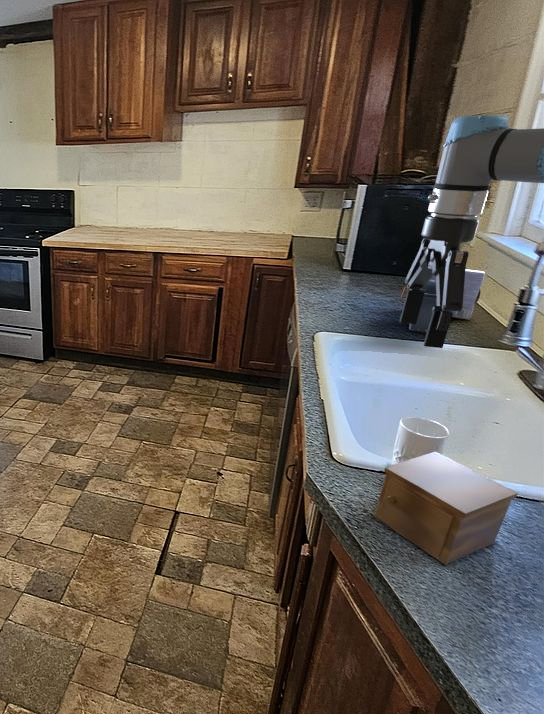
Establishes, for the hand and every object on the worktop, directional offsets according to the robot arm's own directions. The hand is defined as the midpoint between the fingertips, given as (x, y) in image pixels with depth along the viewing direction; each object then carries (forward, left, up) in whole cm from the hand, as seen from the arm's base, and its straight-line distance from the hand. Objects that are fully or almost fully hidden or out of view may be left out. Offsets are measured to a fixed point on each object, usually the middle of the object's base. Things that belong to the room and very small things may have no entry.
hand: (419, 334), depth 97 cm
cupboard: (-18, +13, -26) cm, 35 cm away
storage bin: (+53, -88, -26) cm, 106 cm away
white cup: (-6, +1, -26) cm, 27 cm away
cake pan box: (+59, -109, -26) cm, 127 cm away
